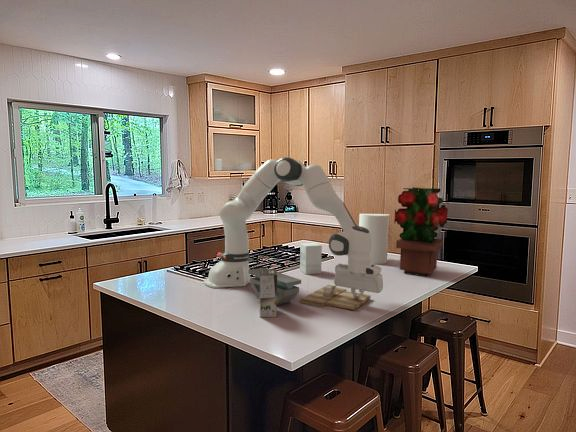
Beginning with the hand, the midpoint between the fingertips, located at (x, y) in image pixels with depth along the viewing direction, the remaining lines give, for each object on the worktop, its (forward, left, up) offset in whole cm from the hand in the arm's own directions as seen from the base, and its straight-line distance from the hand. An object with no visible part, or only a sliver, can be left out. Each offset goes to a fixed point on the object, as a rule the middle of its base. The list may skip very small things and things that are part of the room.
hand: (357, 299), depth 181 cm
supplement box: (+10, +53, -2) cm, 54 cm away
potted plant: (+63, +29, -2) cm, 69 cm away
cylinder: (+58, +61, -2) cm, 84 cm away
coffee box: (-38, +6, -2) cm, 38 cm away
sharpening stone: (-29, +19, -2) cm, 35 cm away
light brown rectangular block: (-8, +13, -2) cm, 15 cm away
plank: (-2, +3, -2) cm, 4 cm away
